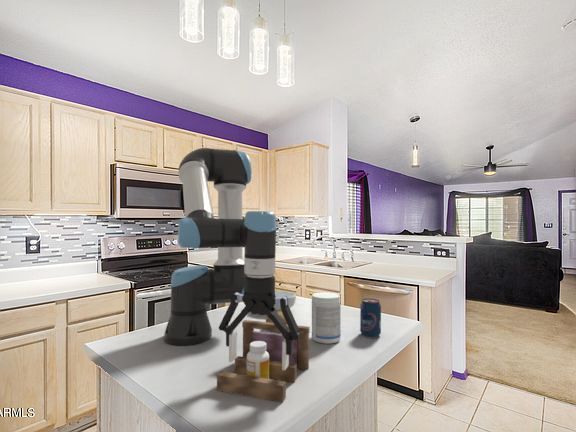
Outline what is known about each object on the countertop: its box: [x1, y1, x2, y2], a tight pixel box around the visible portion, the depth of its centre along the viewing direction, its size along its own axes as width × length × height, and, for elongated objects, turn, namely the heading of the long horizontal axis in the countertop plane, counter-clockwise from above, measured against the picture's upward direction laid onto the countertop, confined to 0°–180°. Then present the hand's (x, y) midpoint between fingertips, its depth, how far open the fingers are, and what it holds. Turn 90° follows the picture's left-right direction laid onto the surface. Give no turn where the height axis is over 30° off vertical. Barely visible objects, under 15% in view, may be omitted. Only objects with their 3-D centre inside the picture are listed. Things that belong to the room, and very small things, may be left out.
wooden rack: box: [216, 319, 311, 403], centre depth 82 cm, size 19×19×11 cm
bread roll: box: [265, 311, 287, 333], centre depth 120 cm, size 10×10×8 cm
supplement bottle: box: [247, 341, 270, 379], centre depth 78 cm, size 5×5×10 cm
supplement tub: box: [311, 292, 342, 345], centre depth 109 cm, size 10×10×15 cm
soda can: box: [359, 298, 382, 339], centre depth 113 cm, size 7×7×12 cm
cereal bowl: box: [274, 290, 297, 312], centre depth 143 cm, size 17×17×7 cm
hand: (258, 363), depth 78 cm, fingers open, 13 cm apart
